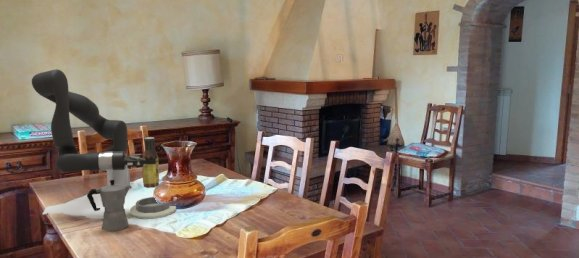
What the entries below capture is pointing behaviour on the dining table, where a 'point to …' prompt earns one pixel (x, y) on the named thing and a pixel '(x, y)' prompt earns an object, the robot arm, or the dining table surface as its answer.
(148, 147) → the sauce bottle
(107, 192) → the coffeepot
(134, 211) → the ring tray
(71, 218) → the dining table surface
